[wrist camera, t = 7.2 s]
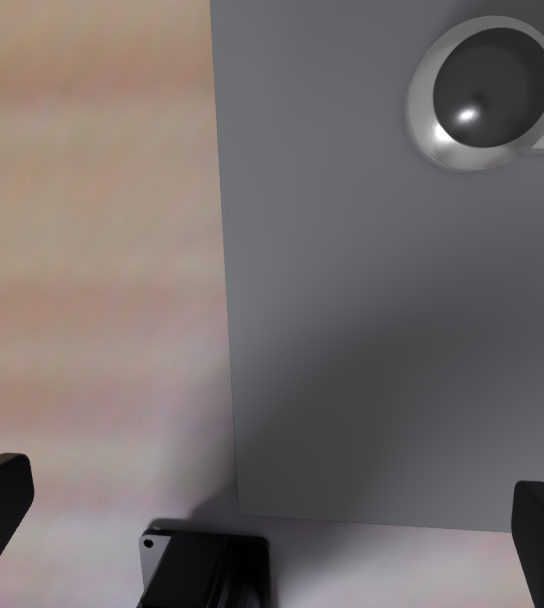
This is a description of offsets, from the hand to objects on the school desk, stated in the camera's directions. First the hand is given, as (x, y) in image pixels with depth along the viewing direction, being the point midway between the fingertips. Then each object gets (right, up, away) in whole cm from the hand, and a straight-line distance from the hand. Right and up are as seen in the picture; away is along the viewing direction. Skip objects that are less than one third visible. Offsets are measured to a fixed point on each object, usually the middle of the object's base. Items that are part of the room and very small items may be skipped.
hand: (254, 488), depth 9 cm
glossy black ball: (+7, +10, +6) cm, 13 cm away
